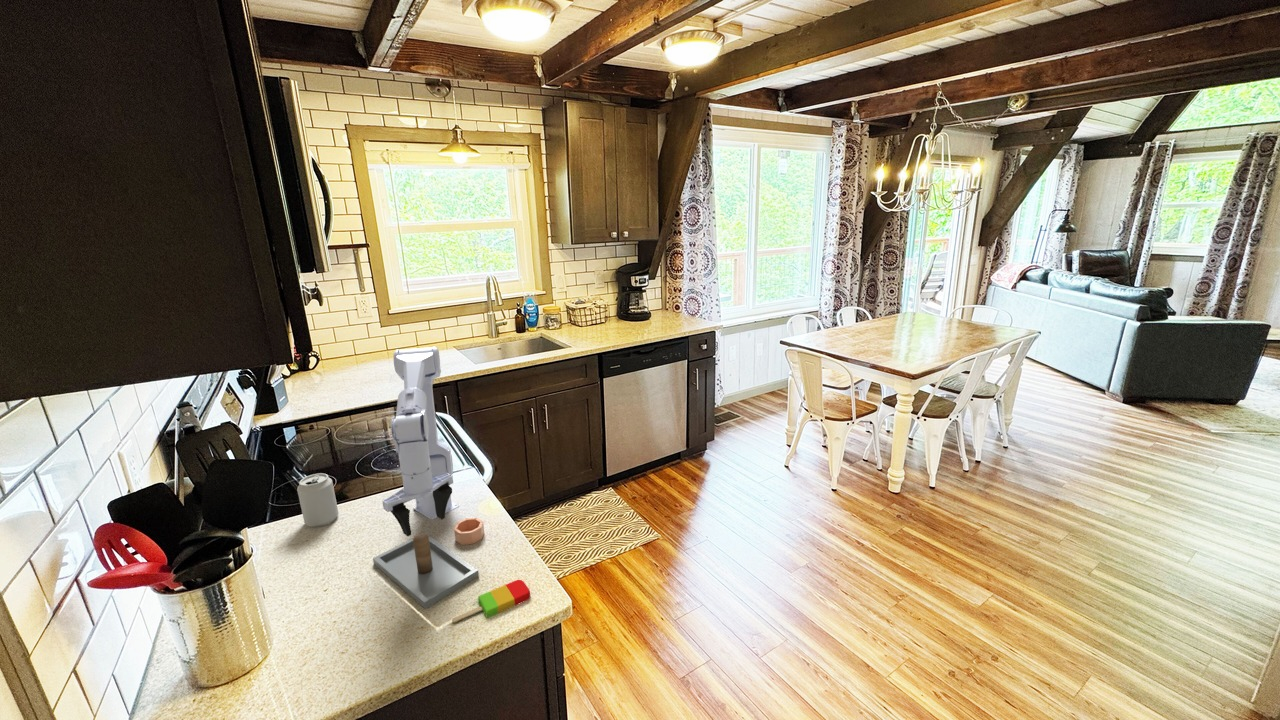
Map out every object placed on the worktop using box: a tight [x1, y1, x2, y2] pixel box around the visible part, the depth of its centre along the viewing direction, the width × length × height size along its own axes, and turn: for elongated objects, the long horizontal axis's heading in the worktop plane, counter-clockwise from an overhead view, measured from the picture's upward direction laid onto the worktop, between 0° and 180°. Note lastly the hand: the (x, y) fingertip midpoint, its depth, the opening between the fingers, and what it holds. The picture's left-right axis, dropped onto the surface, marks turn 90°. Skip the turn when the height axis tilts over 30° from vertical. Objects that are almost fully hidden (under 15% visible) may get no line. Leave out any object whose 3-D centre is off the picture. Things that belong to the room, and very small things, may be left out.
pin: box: [413, 532, 433, 574], centre depth 108 cm, size 3×3×8 cm
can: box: [296, 472, 339, 528], centre depth 128 cm, size 8×8×12 cm
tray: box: [372, 532, 480, 610], centre depth 109 cm, size 22×12×2 cm, turn 51°
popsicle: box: [451, 579, 531, 624], centre depth 99 cm, size 6×15×2 cm, turn 125°
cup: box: [453, 517, 485, 546], centre depth 120 cm, size 6×6×4 cm
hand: (424, 525), depth 109 cm, fingers open, 7 cm apart
